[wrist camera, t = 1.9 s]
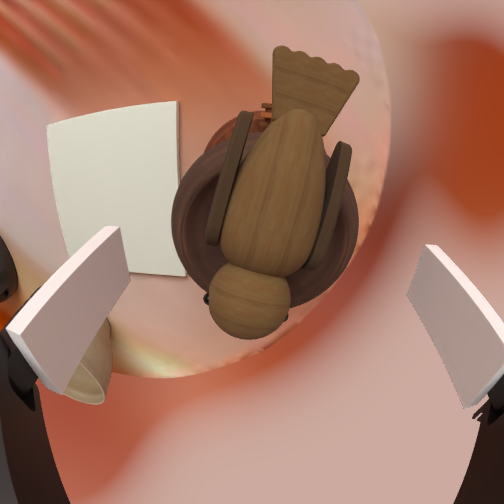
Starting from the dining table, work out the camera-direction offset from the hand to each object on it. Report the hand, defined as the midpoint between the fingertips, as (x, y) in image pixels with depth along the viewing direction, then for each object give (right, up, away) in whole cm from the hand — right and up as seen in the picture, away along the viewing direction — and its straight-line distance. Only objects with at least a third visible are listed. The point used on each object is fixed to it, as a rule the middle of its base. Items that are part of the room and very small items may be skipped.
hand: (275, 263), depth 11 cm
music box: (0, +8, +14) cm, 16 cm away
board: (-16, +7, +15) cm, 22 cm away
